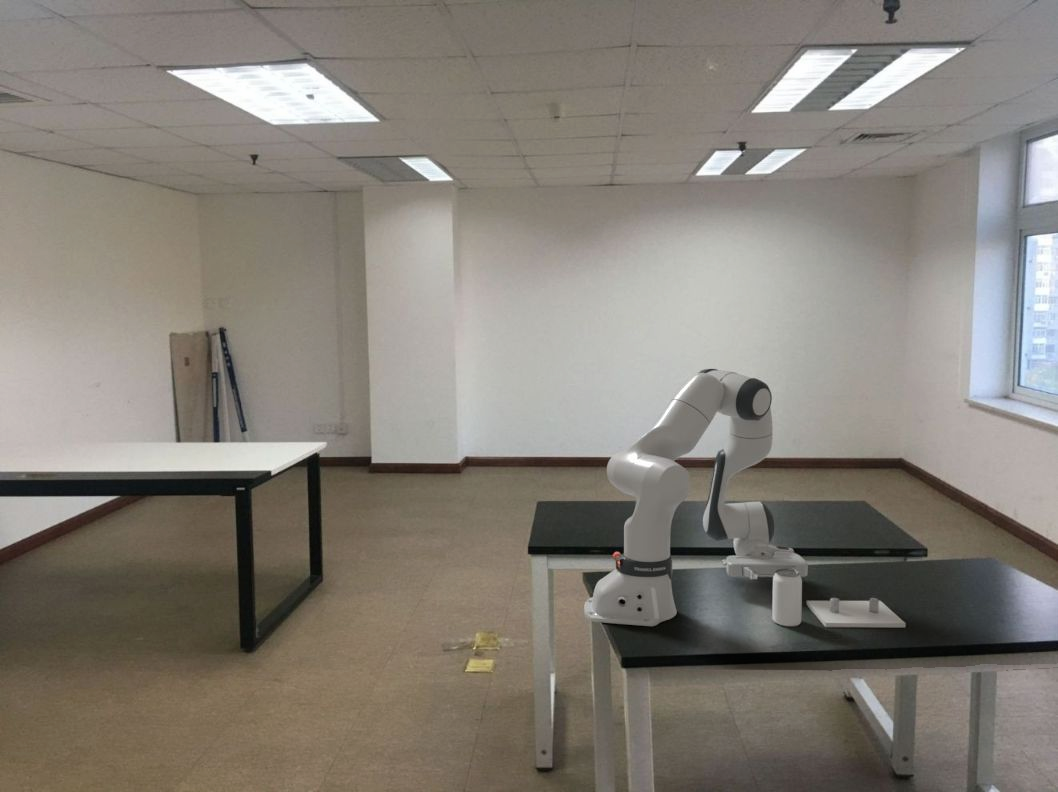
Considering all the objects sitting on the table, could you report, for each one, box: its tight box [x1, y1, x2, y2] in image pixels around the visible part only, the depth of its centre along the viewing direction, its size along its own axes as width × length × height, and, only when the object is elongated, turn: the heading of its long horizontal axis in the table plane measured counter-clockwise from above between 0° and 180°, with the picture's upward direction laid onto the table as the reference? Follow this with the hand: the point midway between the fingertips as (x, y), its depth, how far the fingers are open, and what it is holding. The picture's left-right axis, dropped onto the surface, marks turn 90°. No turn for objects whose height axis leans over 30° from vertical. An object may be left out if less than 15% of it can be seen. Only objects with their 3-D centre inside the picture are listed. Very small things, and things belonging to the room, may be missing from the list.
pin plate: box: [806, 597, 906, 628], centre depth 182 cm, size 18×14×4 cm
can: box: [771, 569, 803, 628], centre depth 179 cm, size 6×6×12 cm
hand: (773, 576), depth 190 cm, fingers open, 8 cm apart
